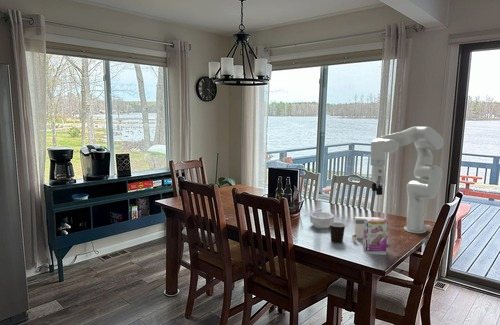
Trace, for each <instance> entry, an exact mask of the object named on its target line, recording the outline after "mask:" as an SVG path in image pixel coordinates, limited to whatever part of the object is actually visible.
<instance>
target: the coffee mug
mask: <svg viewBox="0 0 500 325" xmlns="http://www.w3.org/2000/svg"><path fill="white" fill-rule="evenodd" d="M345 229H346V224H345V223H344V222H339V221H337V222H335V221H334V222H333V223H330V227H329V233H330V241H331V242H332V243H333V244H343V241H344V236H345V235H344V234H345Z"/></svg>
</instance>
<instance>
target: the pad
mask: <svg viewBox="0 0 500 325" xmlns="http://www.w3.org/2000/svg"><path fill="white" fill-rule="evenodd" d="M364 252H365V254H366V255H381V256H387V252H386V251H365V250H364Z"/></svg>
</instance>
